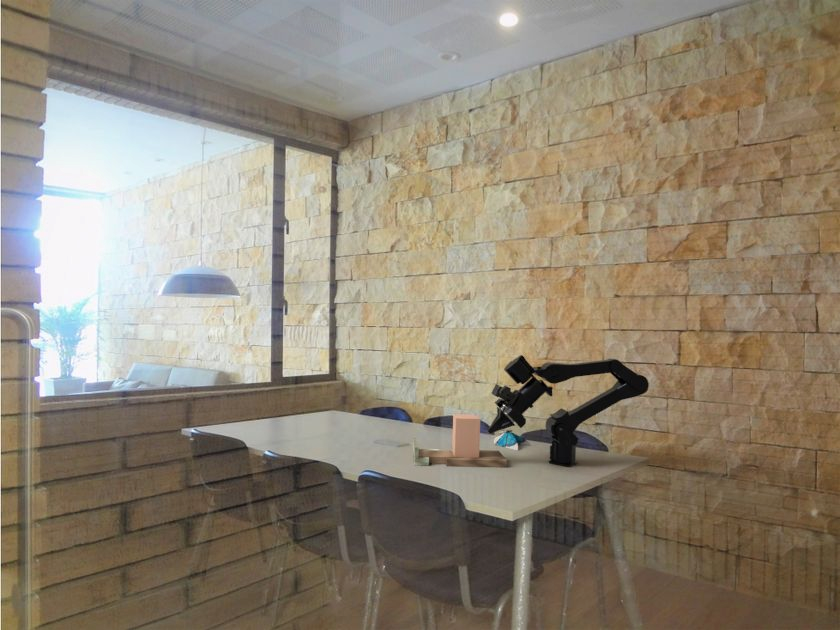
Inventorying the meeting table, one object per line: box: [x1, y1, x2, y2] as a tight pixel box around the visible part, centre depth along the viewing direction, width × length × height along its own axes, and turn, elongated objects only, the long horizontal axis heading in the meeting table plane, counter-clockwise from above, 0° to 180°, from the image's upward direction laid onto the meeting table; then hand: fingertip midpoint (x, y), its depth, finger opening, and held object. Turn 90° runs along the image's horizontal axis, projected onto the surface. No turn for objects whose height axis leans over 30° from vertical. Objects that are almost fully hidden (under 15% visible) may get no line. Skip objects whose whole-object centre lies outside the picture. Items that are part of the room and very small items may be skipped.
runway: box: [412, 438, 508, 468], centre depth 168 cm, size 26×12×5 cm, turn 93°
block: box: [451, 413, 481, 457], centre depth 168 cm, size 7×7×11 cm
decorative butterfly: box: [493, 428, 532, 451], centre depth 191 cm, size 10×6×10 cm
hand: (488, 432), depth 168 cm, fingers closed
